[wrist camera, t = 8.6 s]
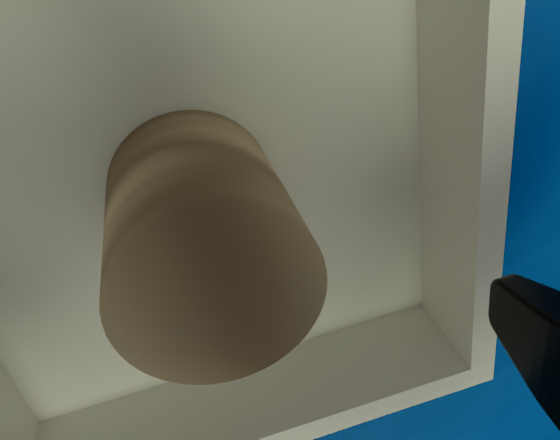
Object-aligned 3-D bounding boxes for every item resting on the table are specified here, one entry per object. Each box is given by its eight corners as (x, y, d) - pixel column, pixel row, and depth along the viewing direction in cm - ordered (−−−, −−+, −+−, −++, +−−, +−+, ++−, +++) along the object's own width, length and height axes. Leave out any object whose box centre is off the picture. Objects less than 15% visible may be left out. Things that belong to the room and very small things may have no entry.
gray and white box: (27, 425, 18) (6, 541, 15) (-293, -67, 10) (-494, -54, 7) (431, 301, 20) (493, 379, 17) (428, -193, 12) (545, -232, 9)
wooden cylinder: (135, 273, 15) (140, 410, 11) (81, 133, 13) (61, 239, 9) (281, 232, 16) (337, 348, 12) (254, 91, 14) (313, 172, 9)
